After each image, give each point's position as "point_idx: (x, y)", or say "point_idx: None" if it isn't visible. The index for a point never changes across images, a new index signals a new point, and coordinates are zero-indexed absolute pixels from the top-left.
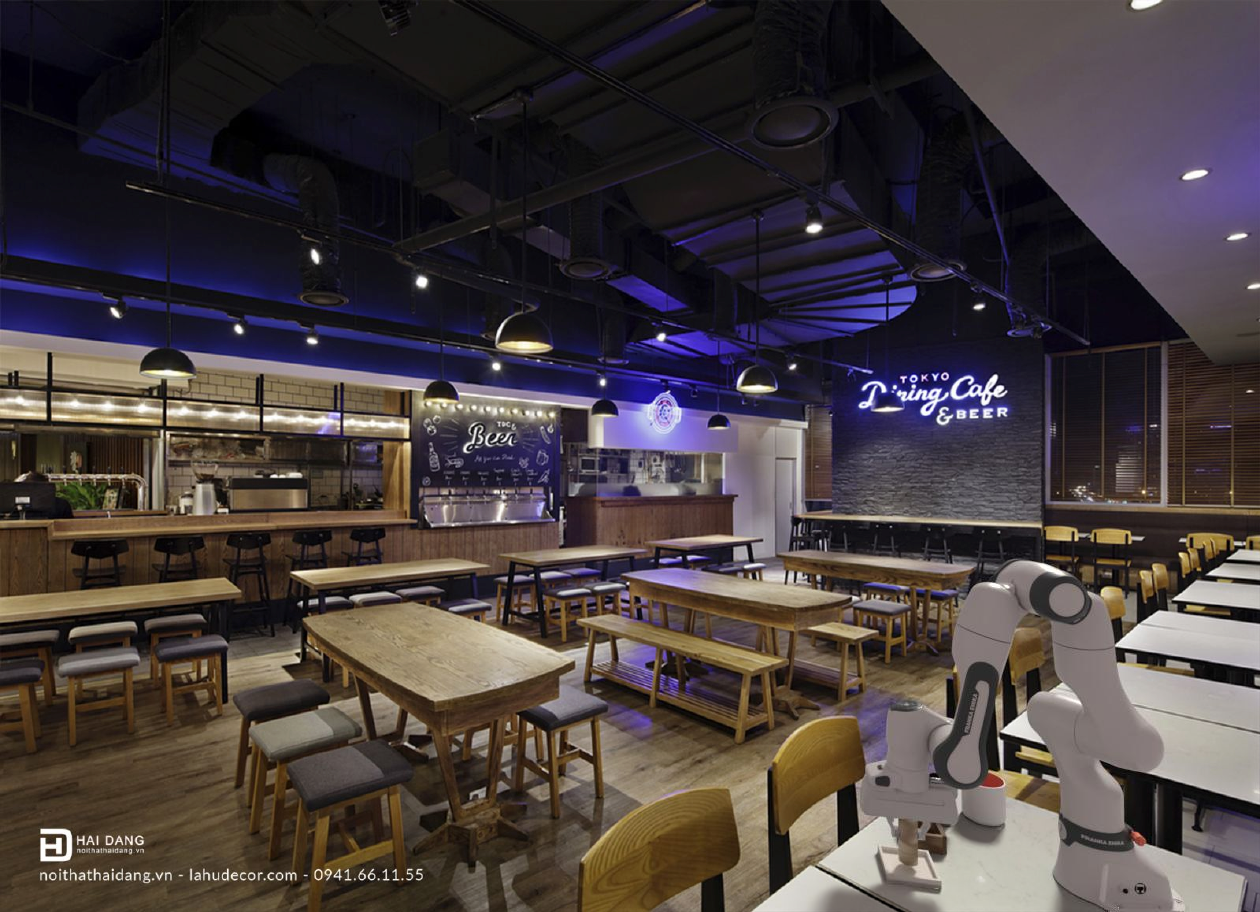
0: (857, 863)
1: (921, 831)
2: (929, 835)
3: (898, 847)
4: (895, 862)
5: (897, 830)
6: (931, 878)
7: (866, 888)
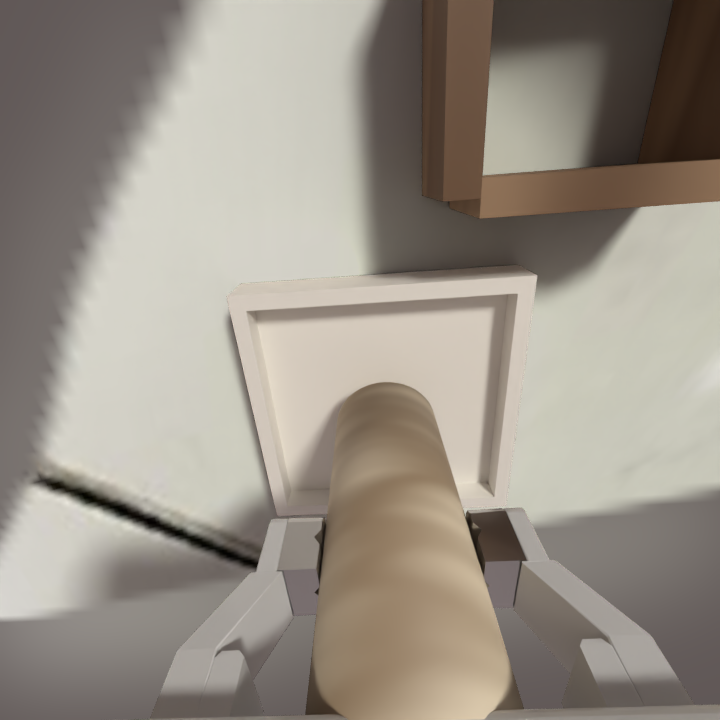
0: (154, 403)
1: (515, 593)
2: (618, 203)
3: (332, 465)
4: (326, 387)
5: (309, 612)
6: (466, 500)
7: (211, 530)
